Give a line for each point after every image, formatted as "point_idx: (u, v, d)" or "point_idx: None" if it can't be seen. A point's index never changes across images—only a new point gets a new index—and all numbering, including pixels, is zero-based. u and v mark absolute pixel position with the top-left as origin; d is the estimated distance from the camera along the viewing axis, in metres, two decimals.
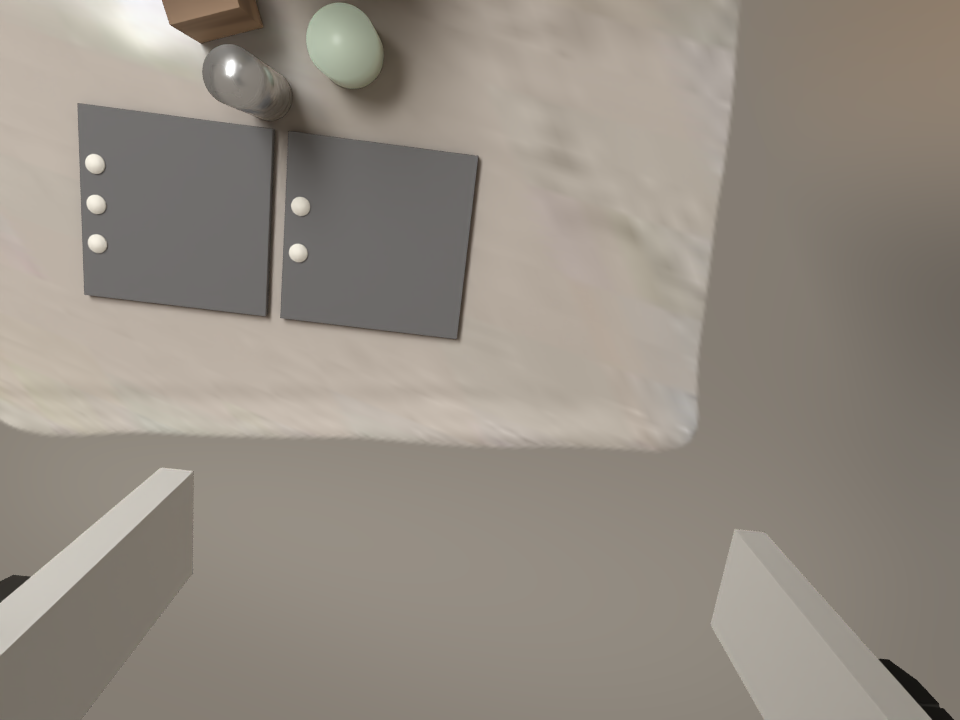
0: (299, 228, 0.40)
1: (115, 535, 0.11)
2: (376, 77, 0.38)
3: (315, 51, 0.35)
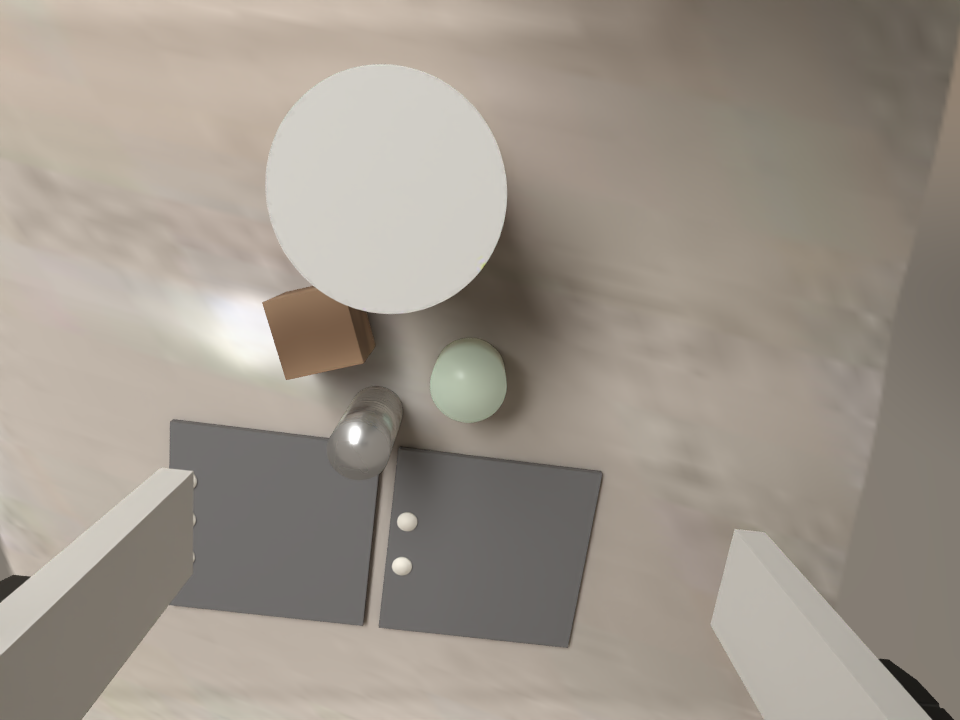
0: (404, 542, 0.37)
1: (115, 535, 0.11)
2: None
3: (440, 397, 0.32)
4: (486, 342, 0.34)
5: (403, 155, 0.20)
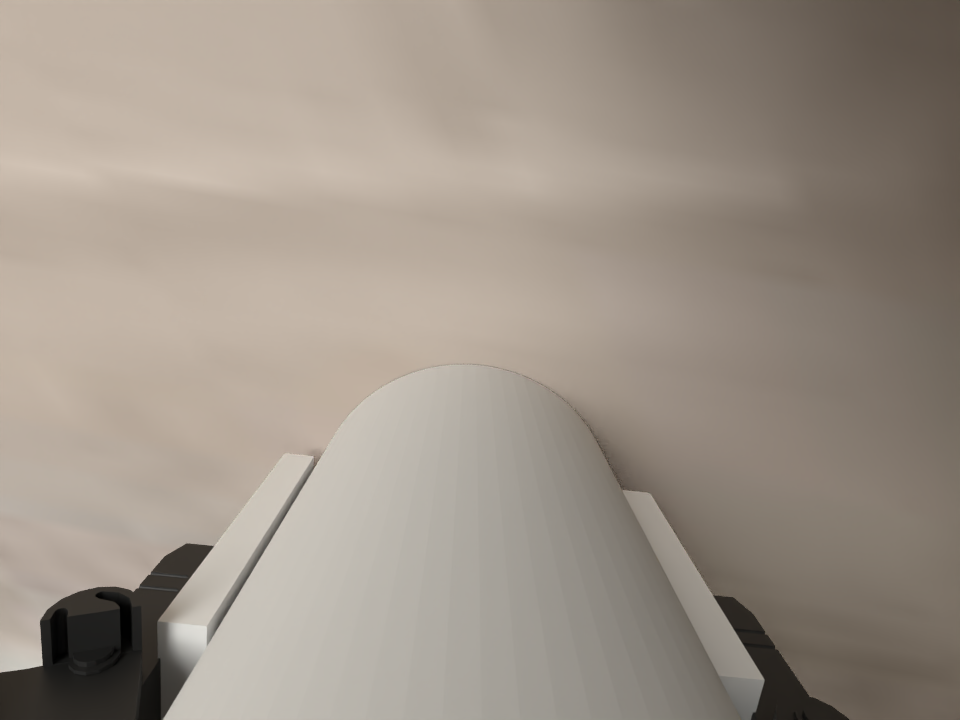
0: None
1: (271, 509, 0.13)
2: None
3: None
4: None
5: None
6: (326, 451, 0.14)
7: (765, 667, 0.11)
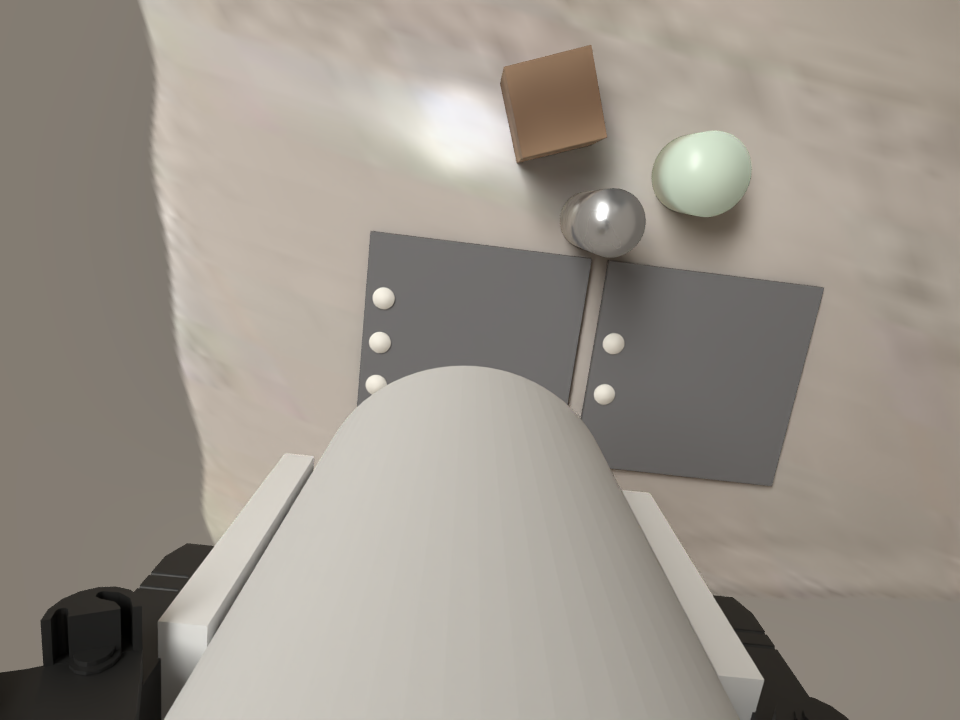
0: (608, 367, 0.34)
1: (271, 509, 0.13)
2: None
3: (689, 203, 0.30)
4: (689, 134, 0.32)
5: None
6: (325, 453, 0.14)
7: (765, 667, 0.11)
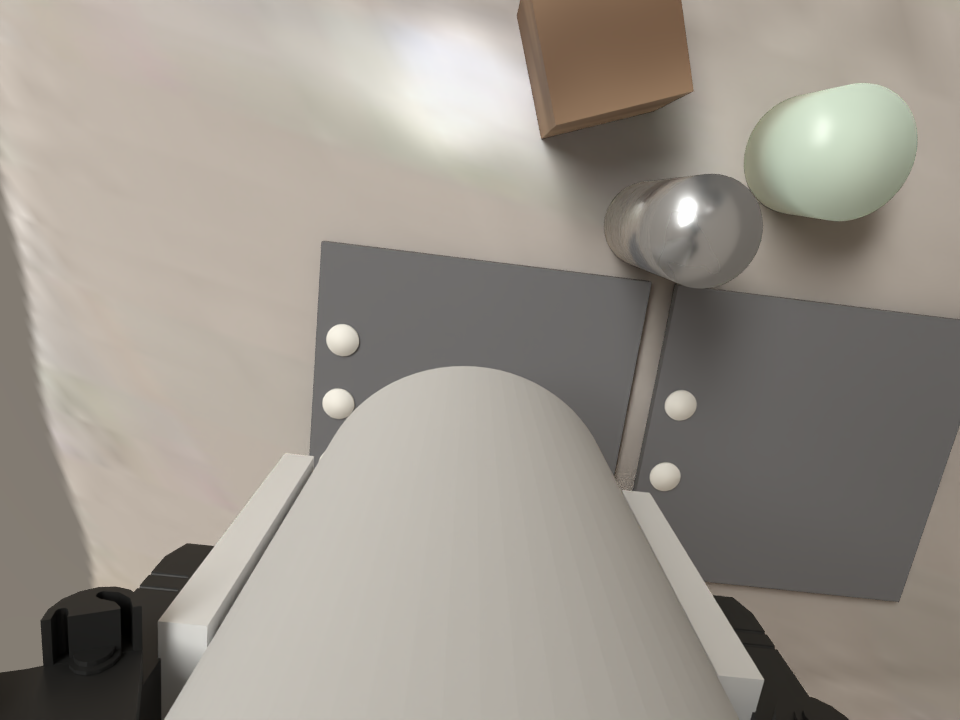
0: (672, 438, 0.24)
1: (271, 509, 0.13)
2: None
3: (824, 204, 0.19)
4: (792, 97, 0.21)
5: None
6: (325, 453, 0.14)
7: (764, 667, 0.11)
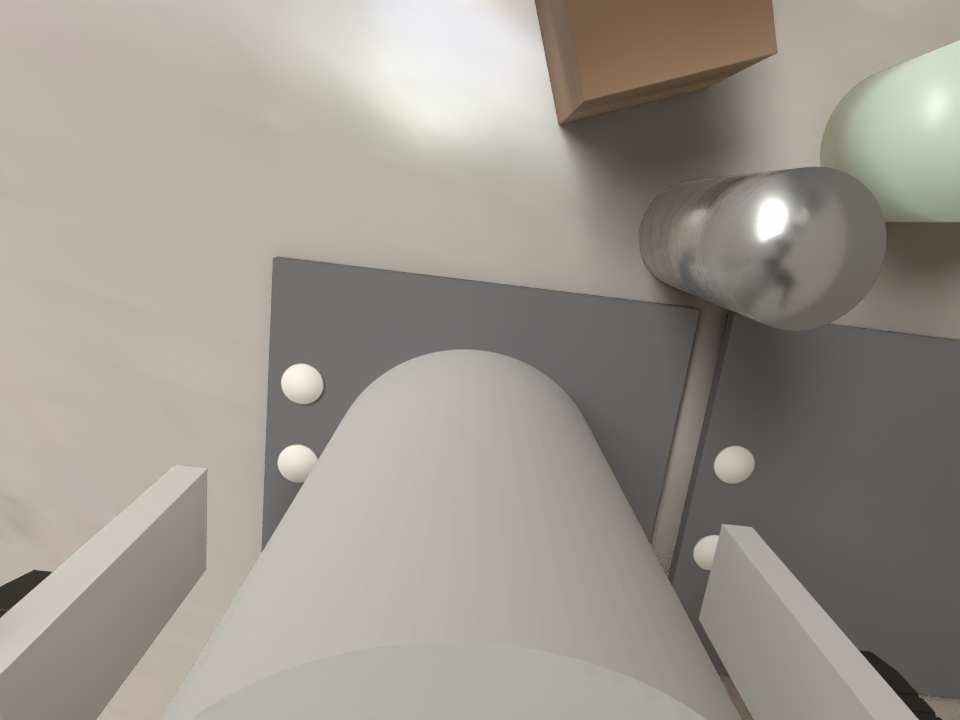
0: (722, 506, 0.19)
1: (133, 531, 0.12)
2: None
3: (959, 203, 0.14)
4: (865, 80, 0.16)
5: None
6: (339, 426, 0.15)
7: None
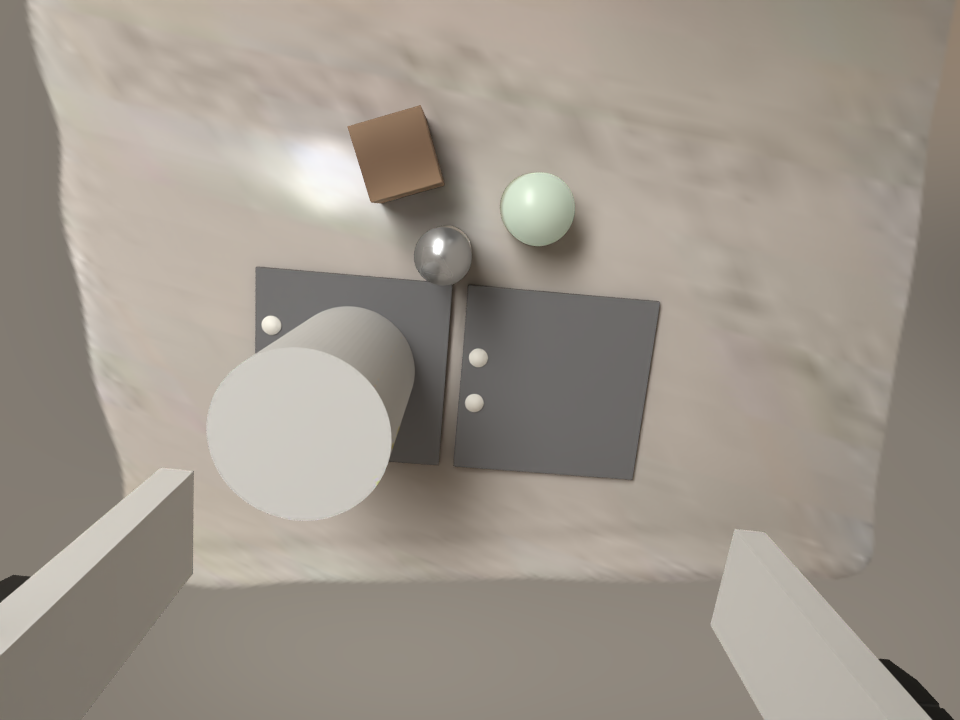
0: (476, 379, 0.39)
1: (115, 535, 0.11)
2: None
3: (545, 237, 0.34)
4: (506, 187, 0.36)
5: (309, 408, 0.27)
6: None
7: None
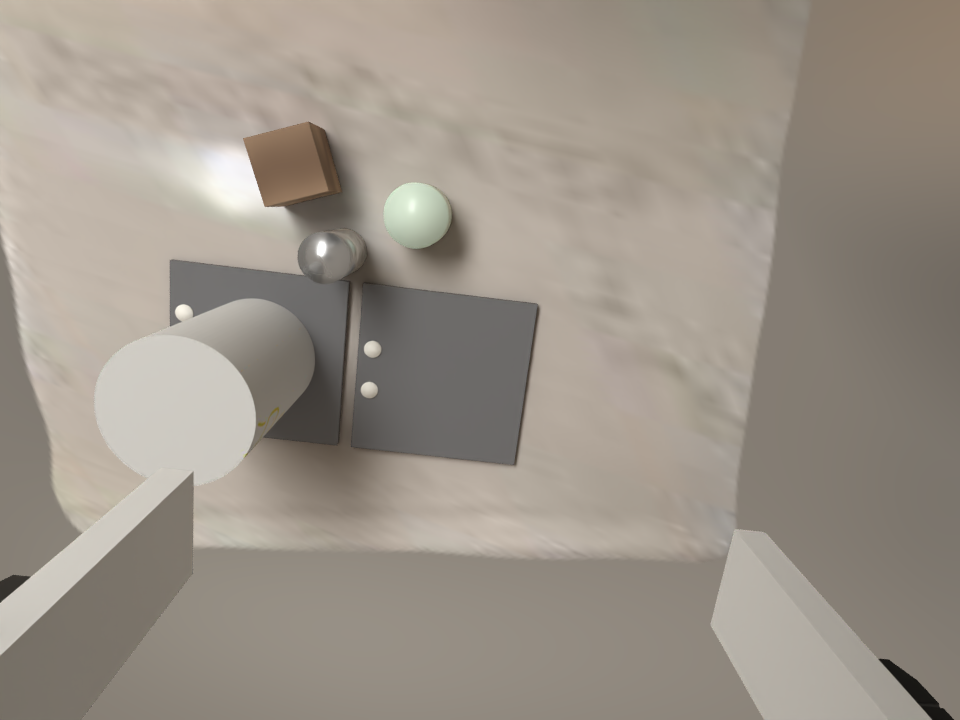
0: (370, 368, 0.43)
1: (115, 535, 0.11)
2: None
3: (427, 239, 0.38)
4: None
5: (184, 388, 0.31)
6: None
7: None
